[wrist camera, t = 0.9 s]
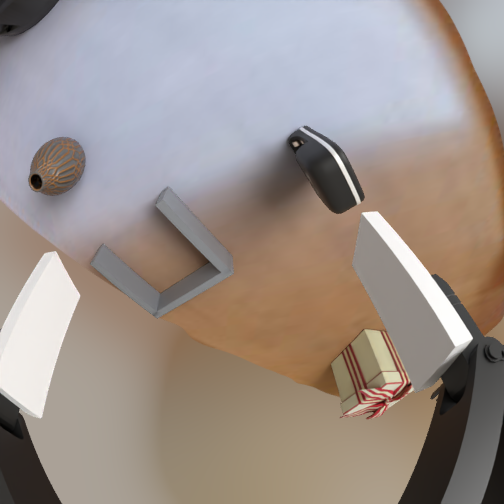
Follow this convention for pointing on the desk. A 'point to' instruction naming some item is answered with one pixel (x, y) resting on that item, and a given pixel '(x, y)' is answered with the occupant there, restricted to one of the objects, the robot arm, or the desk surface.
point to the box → (186, 287)
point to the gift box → (370, 375)
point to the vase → (57, 166)
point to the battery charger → (327, 170)
